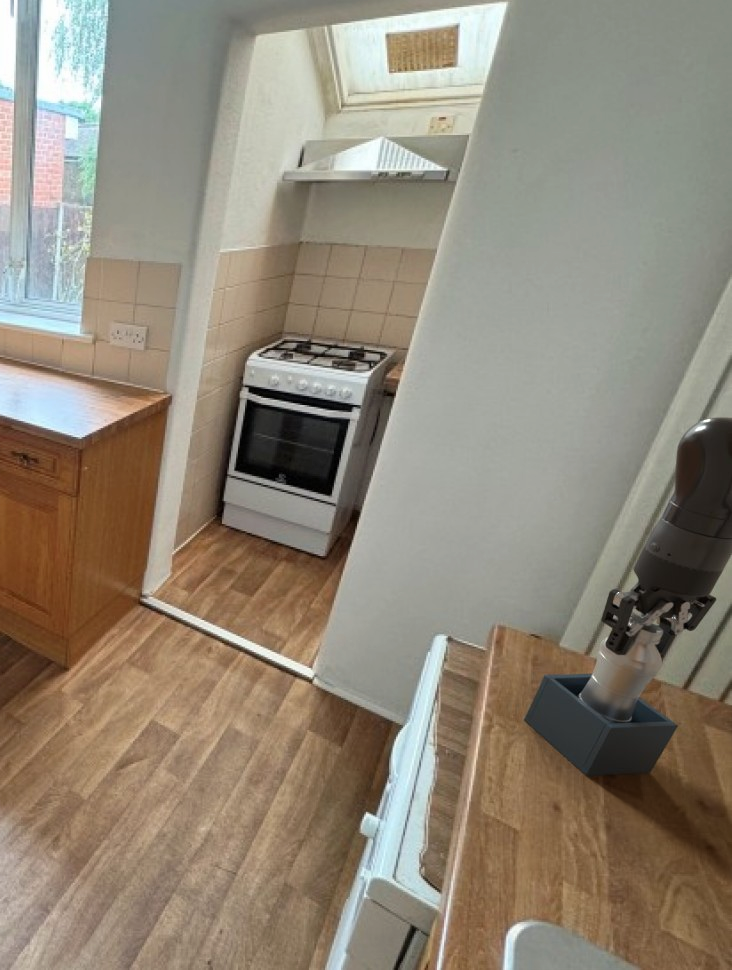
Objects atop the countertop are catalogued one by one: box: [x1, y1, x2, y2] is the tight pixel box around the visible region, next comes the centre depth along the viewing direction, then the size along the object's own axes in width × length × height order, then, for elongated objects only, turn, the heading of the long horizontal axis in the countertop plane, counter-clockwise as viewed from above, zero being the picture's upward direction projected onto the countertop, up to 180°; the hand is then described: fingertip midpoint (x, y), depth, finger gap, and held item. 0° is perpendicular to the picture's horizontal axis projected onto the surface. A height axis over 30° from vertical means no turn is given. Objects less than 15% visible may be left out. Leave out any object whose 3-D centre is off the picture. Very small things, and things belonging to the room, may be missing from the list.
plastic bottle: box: [577, 617, 663, 724], centre depth 91 cm, size 6×7×20 cm
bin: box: [523, 672, 679, 777], centre depth 95 cm, size 11×11×10 cm
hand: (634, 650), depth 89 cm, fingers closed on plastic bottle, 5 cm apart
